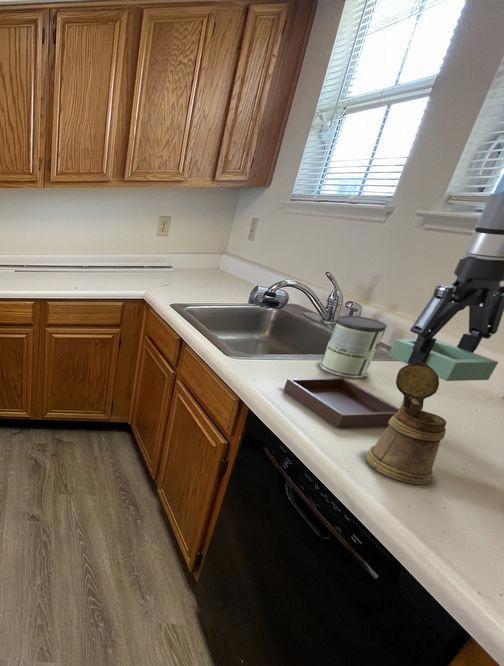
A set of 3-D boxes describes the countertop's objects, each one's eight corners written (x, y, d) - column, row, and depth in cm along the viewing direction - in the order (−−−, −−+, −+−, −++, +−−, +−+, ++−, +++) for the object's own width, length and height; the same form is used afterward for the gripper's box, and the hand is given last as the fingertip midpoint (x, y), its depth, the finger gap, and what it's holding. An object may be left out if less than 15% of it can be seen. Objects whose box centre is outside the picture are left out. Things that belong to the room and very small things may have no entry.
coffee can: (316, 360, 121) (333, 313, 114) (359, 366, 117) (379, 318, 111) (323, 373, 112) (342, 324, 106) (370, 381, 108) (393, 330, 102)
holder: (401, 425, 89) (407, 413, 88) (337, 427, 88) (342, 415, 87) (338, 388, 104) (343, 377, 103) (283, 390, 103) (287, 378, 102)
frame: (488, 380, 83) (498, 361, 81) (446, 381, 83) (456, 362, 81) (425, 354, 95) (433, 338, 93) (388, 355, 94) (395, 339, 93)
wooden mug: (408, 447, 82) (452, 364, 74) (438, 490, 71) (494, 398, 63) (353, 436, 85) (389, 356, 77) (374, 475, 74) (419, 386, 66)
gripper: (519, 253, 83) (464, 357, 93) (417, 253, 82) (372, 359, 91) (567, 260, 76) (503, 371, 86) (457, 261, 75) (404, 373, 85)
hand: (436, 365), depth 89 cm, fingers closed on frame, 9 cm apart
